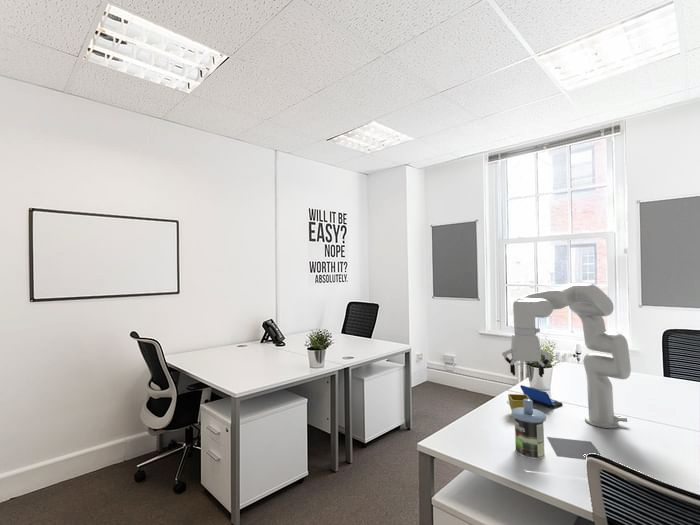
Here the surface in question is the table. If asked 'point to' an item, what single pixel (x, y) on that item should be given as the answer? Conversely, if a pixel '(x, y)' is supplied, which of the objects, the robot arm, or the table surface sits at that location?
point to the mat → (572, 448)
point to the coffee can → (529, 439)
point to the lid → (528, 413)
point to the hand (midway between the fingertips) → (527, 375)
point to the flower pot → (516, 400)
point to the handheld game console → (540, 397)
